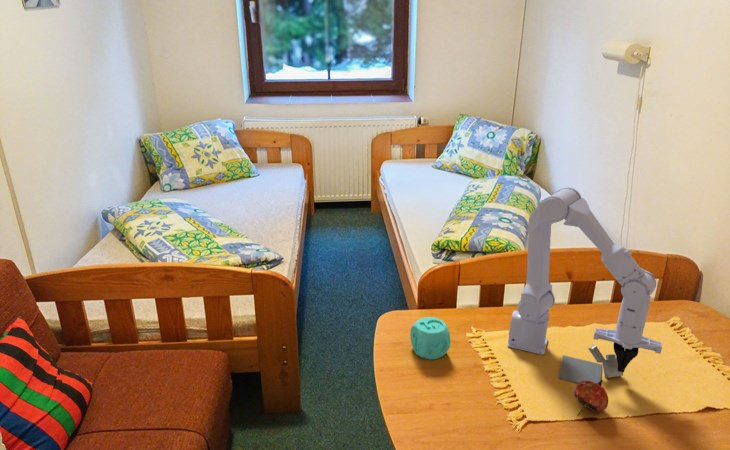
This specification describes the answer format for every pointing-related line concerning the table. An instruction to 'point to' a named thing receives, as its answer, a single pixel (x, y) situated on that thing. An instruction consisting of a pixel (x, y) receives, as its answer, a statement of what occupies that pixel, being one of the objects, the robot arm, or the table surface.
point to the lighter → (606, 362)
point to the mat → (579, 370)
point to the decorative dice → (430, 338)
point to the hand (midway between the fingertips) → (620, 369)
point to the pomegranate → (591, 396)
